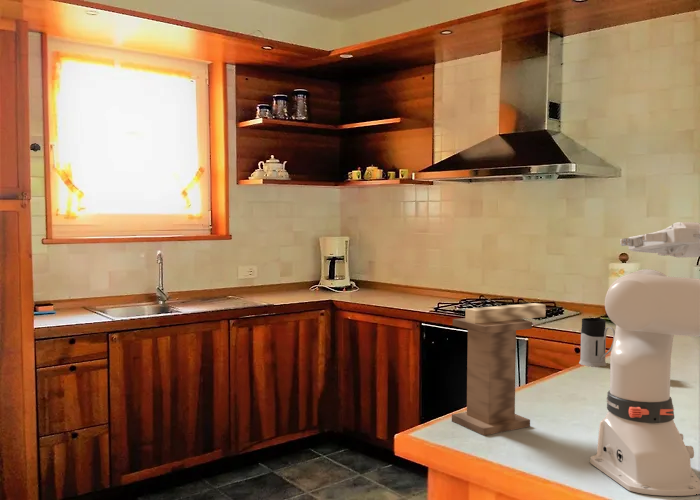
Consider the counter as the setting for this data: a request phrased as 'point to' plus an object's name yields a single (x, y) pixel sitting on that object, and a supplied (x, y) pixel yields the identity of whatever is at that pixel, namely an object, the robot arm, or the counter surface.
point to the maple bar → (504, 313)
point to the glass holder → (594, 342)
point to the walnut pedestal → (491, 377)
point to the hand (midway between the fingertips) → (632, 240)
